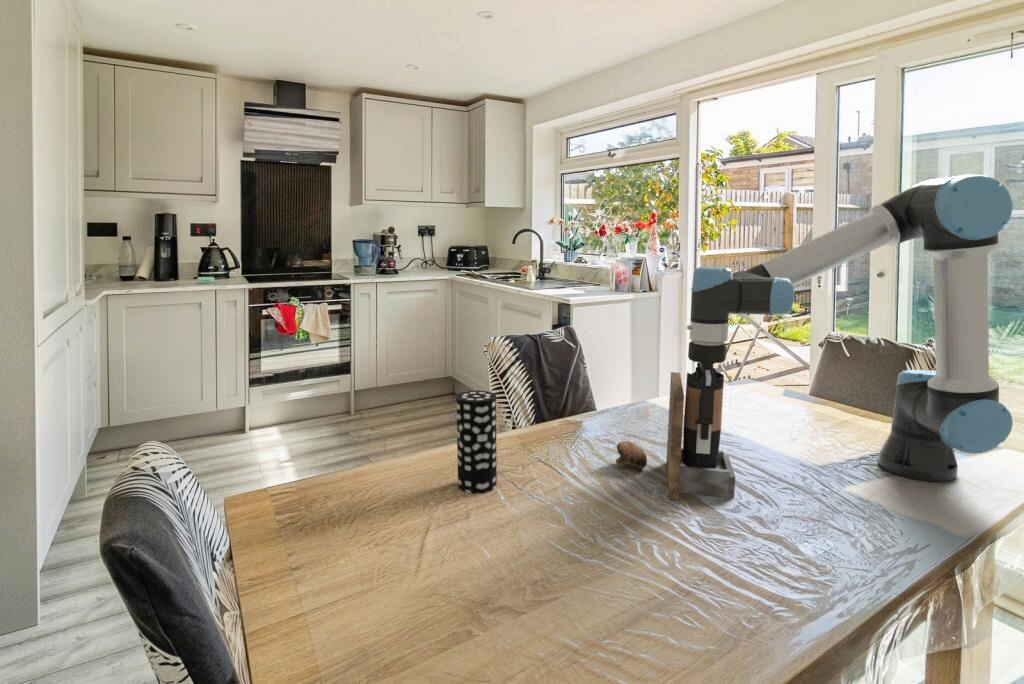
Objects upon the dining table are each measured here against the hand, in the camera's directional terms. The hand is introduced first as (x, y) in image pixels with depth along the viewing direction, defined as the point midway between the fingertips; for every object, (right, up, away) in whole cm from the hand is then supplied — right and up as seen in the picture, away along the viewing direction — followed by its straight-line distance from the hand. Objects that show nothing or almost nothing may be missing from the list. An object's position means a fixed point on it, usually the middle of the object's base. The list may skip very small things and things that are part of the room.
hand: (701, 445), depth 132 cm
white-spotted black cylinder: (-48, -9, 0) cm, 49 cm away
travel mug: (0, -4, +1) cm, 4 cm away
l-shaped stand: (0, -8, +2) cm, 8 cm away
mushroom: (-13, -7, +11) cm, 18 cm away
